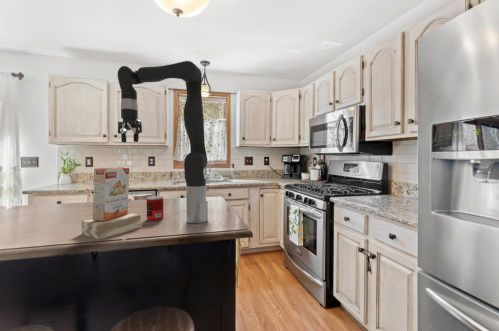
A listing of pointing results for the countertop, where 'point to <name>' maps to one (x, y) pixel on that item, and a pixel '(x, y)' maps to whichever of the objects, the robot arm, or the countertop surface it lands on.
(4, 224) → the countertop surface
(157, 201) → the canned food
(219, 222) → the countertop surface
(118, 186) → the cracker box
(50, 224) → the countertop surface
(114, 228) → the folded beige towel
